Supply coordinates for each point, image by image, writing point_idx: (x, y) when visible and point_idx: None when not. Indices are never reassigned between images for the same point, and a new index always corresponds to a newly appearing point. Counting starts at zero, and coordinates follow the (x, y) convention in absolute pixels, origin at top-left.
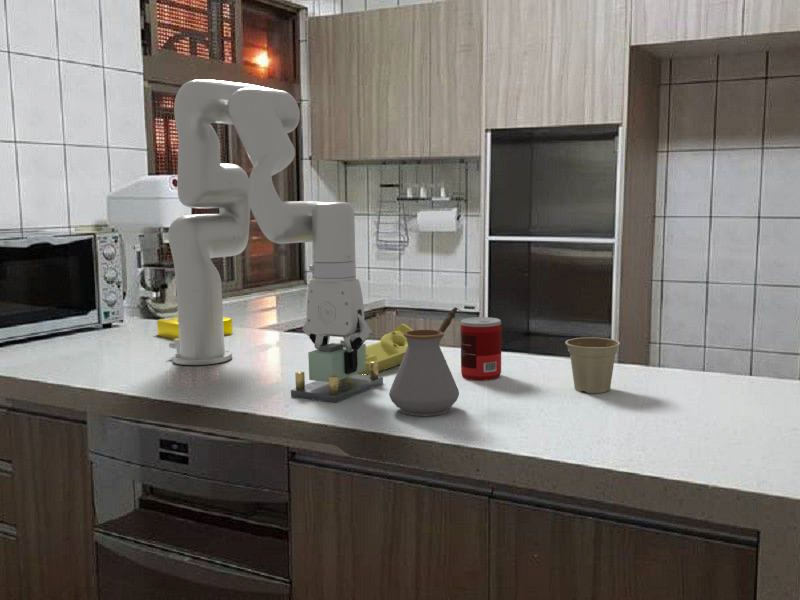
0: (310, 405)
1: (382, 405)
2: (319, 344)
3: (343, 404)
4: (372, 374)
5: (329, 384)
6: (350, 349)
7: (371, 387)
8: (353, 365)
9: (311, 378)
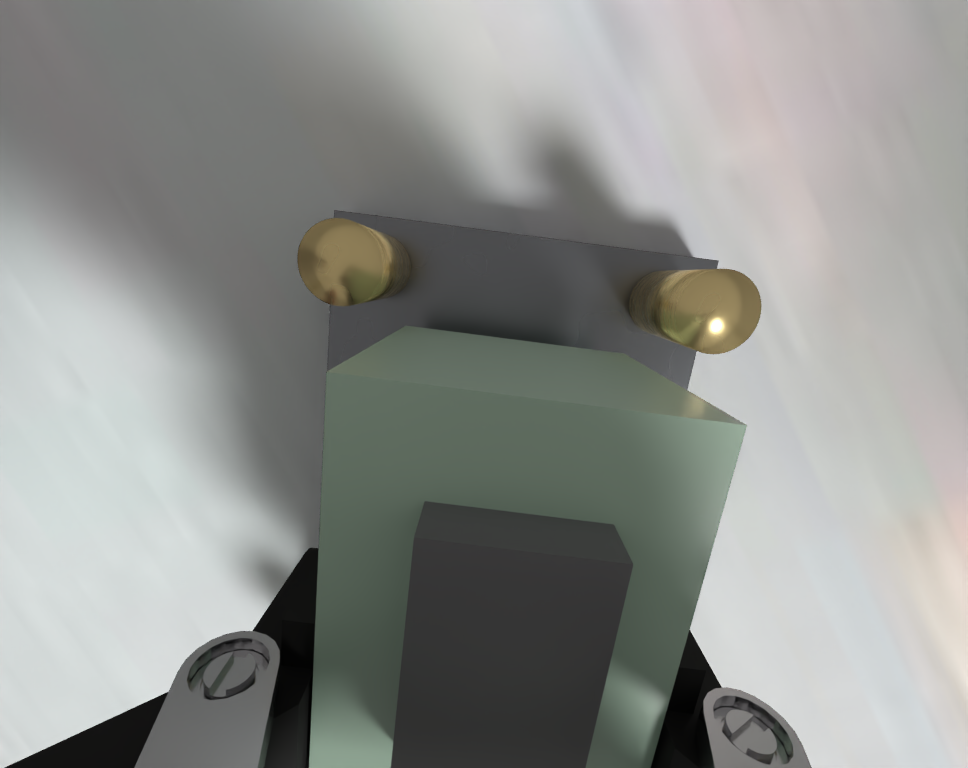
0: (472, 100)
1: (64, 260)
2: (726, 751)
3: (288, 200)
4: None
5: (378, 232)
6: (211, 663)
7: None
8: (301, 565)
9: (606, 352)
